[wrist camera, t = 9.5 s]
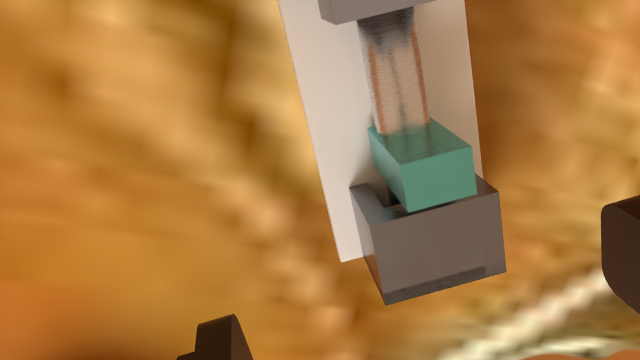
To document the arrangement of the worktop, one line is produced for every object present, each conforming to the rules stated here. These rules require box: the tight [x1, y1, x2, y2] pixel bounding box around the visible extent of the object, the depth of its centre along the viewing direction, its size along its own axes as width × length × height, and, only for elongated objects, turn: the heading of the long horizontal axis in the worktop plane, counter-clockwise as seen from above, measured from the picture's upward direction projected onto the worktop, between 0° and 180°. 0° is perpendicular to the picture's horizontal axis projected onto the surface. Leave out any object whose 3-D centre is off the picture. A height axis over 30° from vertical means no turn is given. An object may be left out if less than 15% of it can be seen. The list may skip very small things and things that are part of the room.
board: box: [278, 0, 483, 262], centre depth 28 cm, size 22×10×6 cm, turn 13°
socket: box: [349, 173, 506, 305], centre depth 30 cm, size 5×7×6 cm
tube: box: [356, 6, 477, 212], centre depth 27 cm, size 14×4×7 cm, turn 13°
